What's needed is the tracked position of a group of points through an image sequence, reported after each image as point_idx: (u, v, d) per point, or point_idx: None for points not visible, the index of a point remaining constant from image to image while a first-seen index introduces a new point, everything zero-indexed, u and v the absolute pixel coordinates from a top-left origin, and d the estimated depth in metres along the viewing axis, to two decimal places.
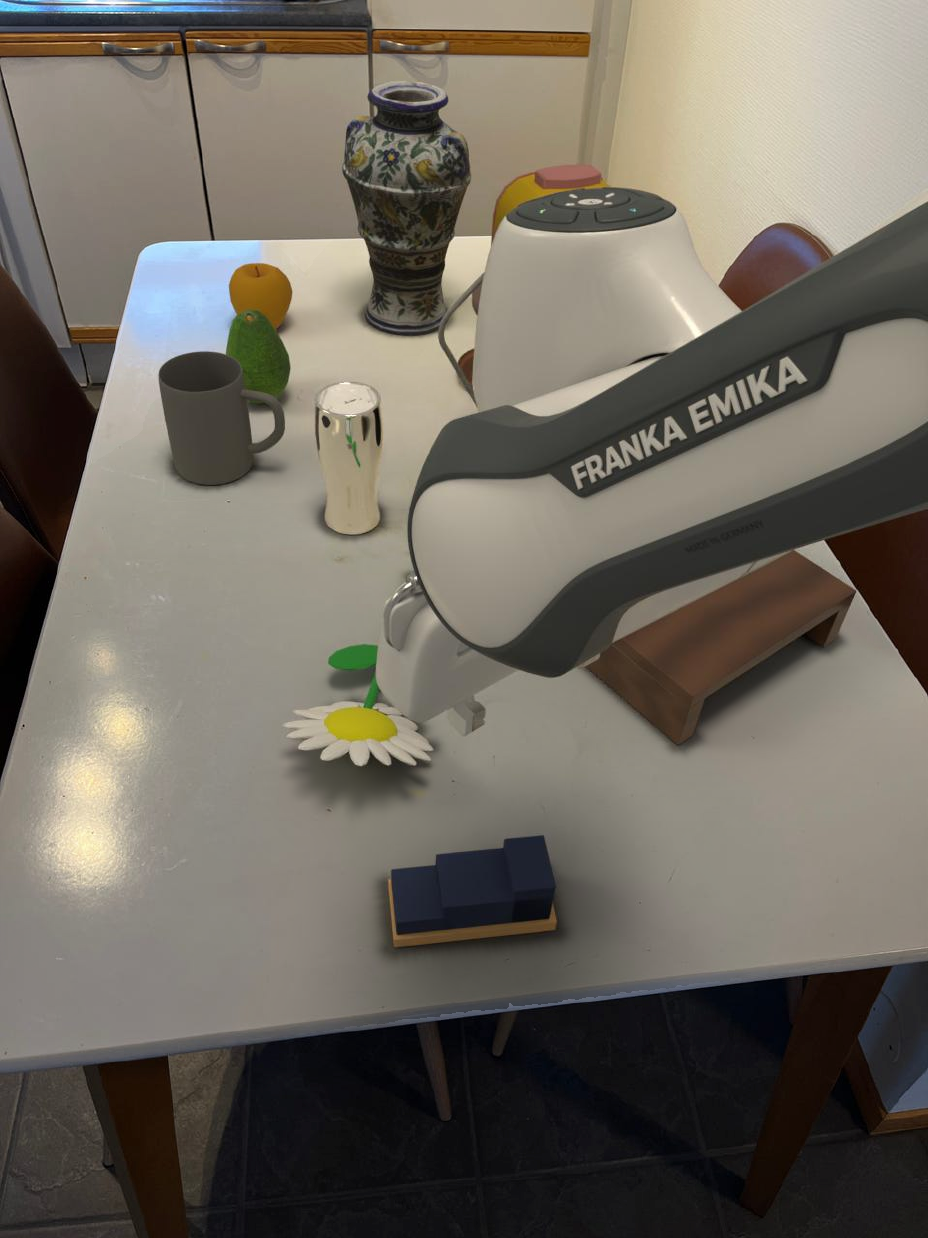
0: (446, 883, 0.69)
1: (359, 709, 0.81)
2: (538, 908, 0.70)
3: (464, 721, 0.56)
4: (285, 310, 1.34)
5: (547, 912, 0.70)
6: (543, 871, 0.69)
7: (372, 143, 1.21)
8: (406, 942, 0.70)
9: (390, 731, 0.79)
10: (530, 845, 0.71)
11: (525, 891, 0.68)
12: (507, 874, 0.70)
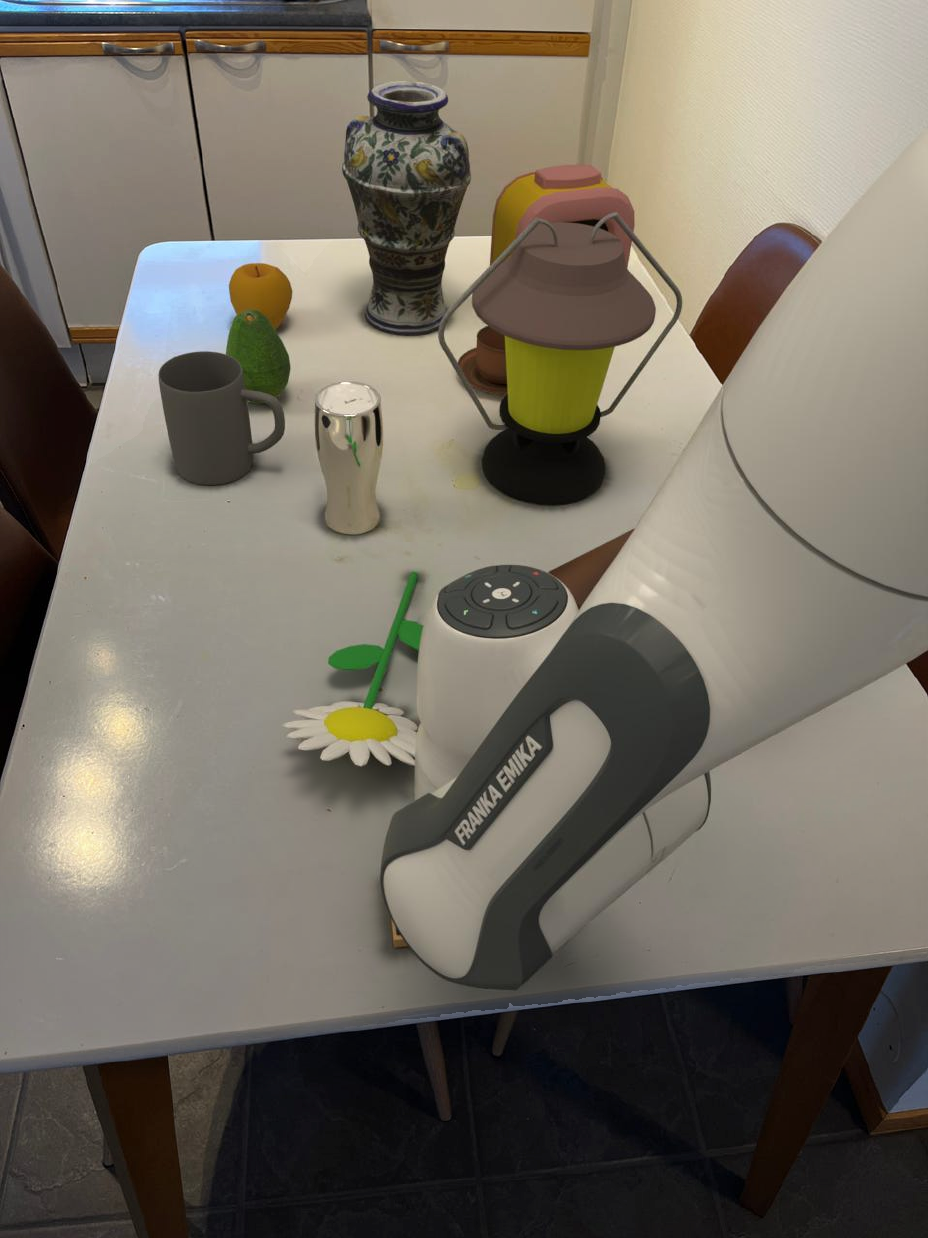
0: None
1: (359, 709, 0.81)
2: None
3: None
4: (285, 310, 1.34)
5: None
6: None
7: (372, 143, 1.21)
8: None
9: (390, 731, 0.79)
10: None
11: None
12: None
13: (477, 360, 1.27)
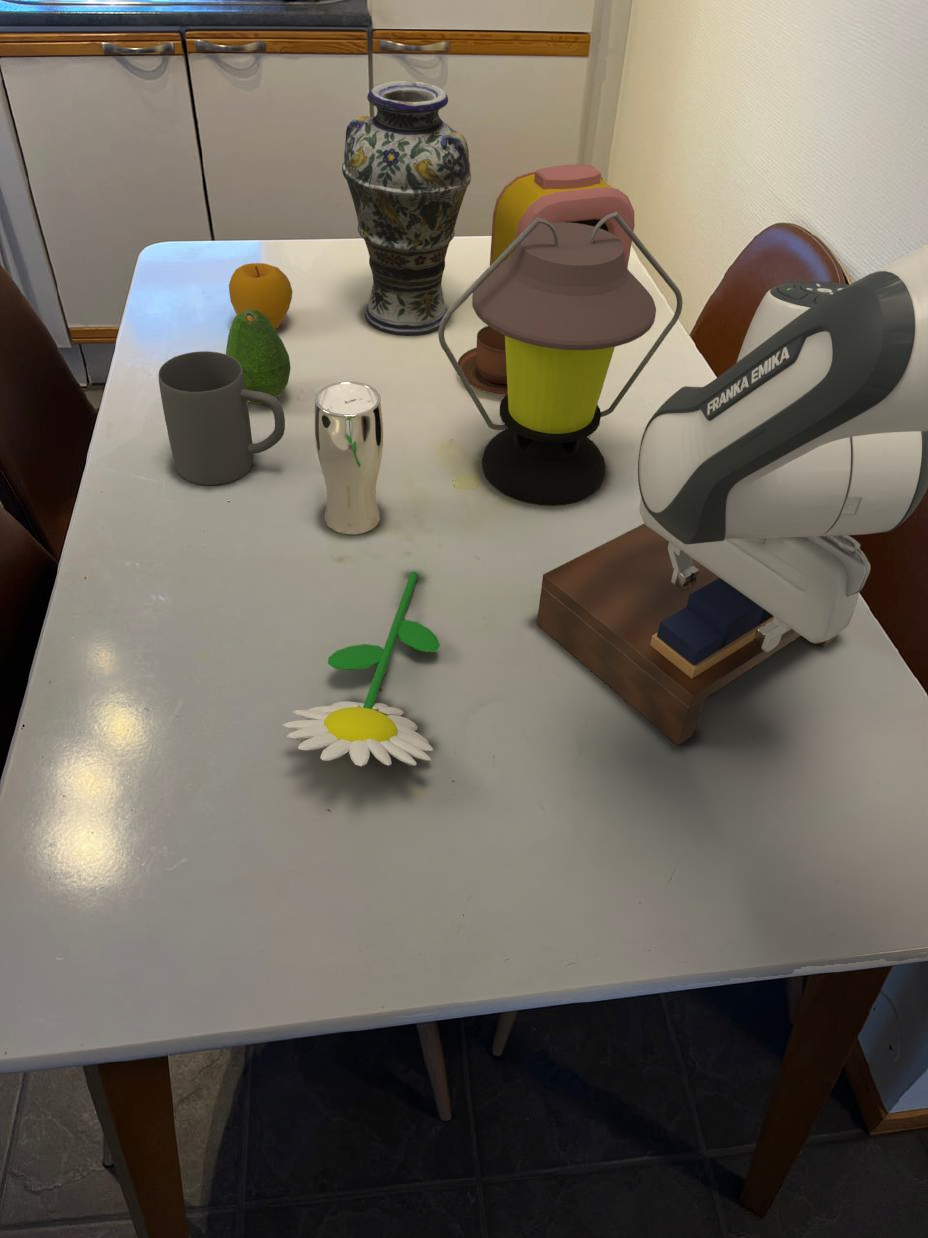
0: (715, 608, 0.82)
1: (359, 709, 0.81)
2: None
3: None
4: (285, 310, 1.34)
5: None
6: None
7: (372, 143, 1.21)
8: (700, 670, 0.82)
9: (390, 731, 0.79)
10: None
11: None
12: None
13: (477, 360, 1.27)
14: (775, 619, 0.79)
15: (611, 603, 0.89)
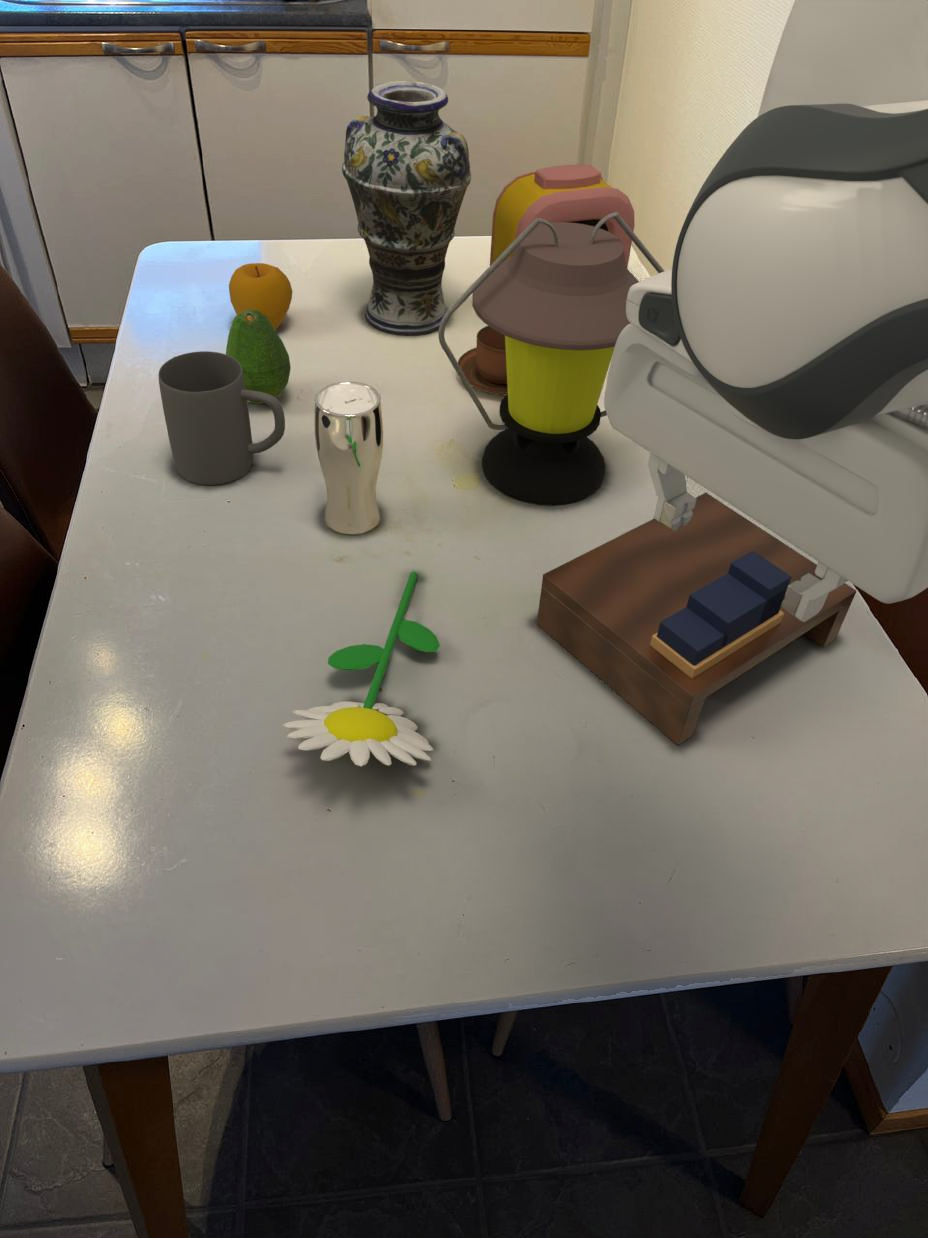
0: (715, 608, 0.82)
1: (359, 709, 0.81)
2: (776, 604, 0.85)
3: (827, 592, 0.51)
4: (285, 310, 1.34)
5: (779, 605, 0.86)
6: (775, 570, 0.84)
7: (372, 143, 1.21)
8: (700, 670, 0.82)
9: (390, 731, 0.79)
10: (751, 559, 0.85)
11: (775, 587, 0.83)
12: (747, 586, 0.84)
13: (477, 360, 1.27)
14: (819, 567, 0.49)
15: (611, 603, 0.89)
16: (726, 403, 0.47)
